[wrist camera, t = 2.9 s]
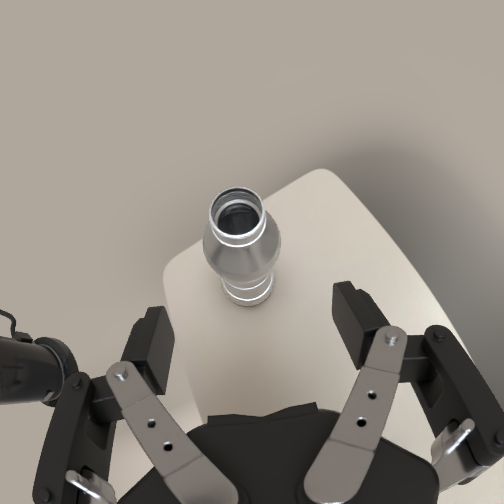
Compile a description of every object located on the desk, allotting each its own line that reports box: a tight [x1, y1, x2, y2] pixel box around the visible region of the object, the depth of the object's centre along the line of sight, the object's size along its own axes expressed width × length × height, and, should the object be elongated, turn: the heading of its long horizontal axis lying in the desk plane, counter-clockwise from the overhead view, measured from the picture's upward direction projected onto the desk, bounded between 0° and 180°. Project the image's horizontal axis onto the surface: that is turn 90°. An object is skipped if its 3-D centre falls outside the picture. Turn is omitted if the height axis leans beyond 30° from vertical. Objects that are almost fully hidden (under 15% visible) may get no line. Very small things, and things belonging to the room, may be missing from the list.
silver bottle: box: [203, 186, 281, 306], centre depth 27 cm, size 6×7×20 cm
